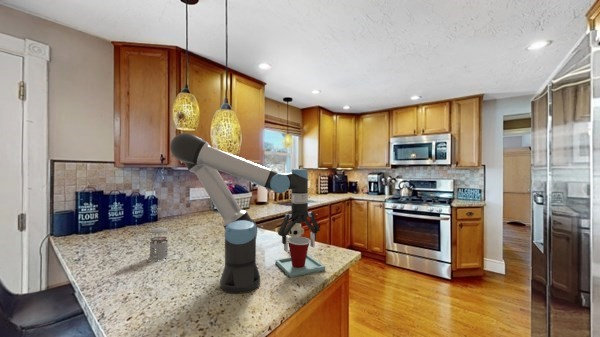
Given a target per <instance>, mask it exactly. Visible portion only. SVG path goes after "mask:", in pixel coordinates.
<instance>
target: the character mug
mask: <svg viewBox="0 0 600 337" xmlns="http://www.w3.org/2000/svg"><path fill="white" fill-rule="evenodd" d="M288 235H289V237H302V235H305V229H304V228H302V223H296V224H295V225H294V226H293V227H292V229H291V230H290V232H289V233H288Z"/></svg>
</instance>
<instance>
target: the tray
mask: <svg viewBox="0 0 600 337" xmlns="http://www.w3.org/2000/svg"><path fill="white" fill-rule="evenodd" d="M274 260H275V265H276V266H277V267H278V268H279V269H280V270H282V272H284V274H286V275H287V276H288V277H289V278H290V279H291V278H297V277H300V276H304V275H310V274H315V273H320V272H324V271H326V266H325V265H324V264H322V263H321V262H319V261H318V260H317V259H315V258H313V257H312V256H310V255H309V254H308V253H307V256H306V261H305V266H304V267H301V268H296V267H293V266H292V261H291V256H289V257H284V258H278V259H274Z"/></svg>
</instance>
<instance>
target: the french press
mask: <svg viewBox="0 0 600 337" xmlns="http://www.w3.org/2000/svg"><path fill="white" fill-rule="evenodd" d="M161 210H162V208H160V207H157V209H156V211H157V212H160V211H161ZM168 230H169V228H166V227H164V226H163V227H162V226H157V227H155V228H152V229H151V230H150V231H149V233H151V236H150V237H151V238H150V242H149V257H148V258H147V259H148V260H151V261H150V262H159V261H158V260H161V261H164V260H163V259H165V258H167V257H169V256H170V254H168V249H169V247H168V246H169V245H168V244H169V242H168V237H167V236H157V235H159V234H162V233H166V232H168ZM153 235H154V237H153ZM169 258H170V257H169ZM167 259H168V258H167ZM148 260H147V261H148ZM165 260H166V259H165Z"/></svg>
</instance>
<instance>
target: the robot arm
mask: <svg viewBox="0 0 600 337" xmlns="http://www.w3.org/2000/svg"><path fill="white" fill-rule="evenodd" d="M169 150H170V153H171V154H172V156H173V158H175V159H176V160H177V161H180V162H182V163H184V165H185V166H186V168H187V170H188V171H189V172H190V173H193V174H195V175H196V177H197V179H198V181H199V182H200V184H201V185H202V187H203V189H204V190H205V192H206V193H207V195H208V197H209V199H210V200H211V202H212V203H213V205H214V207H215V208H216V210H217V211H218V213H219V215H220V216H221V217H222V219H223V224H222V227H223V228H224V230H225V231H224V267H223V271H222V274H221V277H220V279H219V289H220V290H221V291H223V292H224V293H228V294H233V295H234V294H236V295H237V294H243V293H247V292H248V293H249V292H251V291H253V290H255V289H257V288H259V286H260V285H261V275H260V272H259V269H258V266H257V260H256V258H257V253H256V252H257V236H258V226H257V223H256V222H255V221H254V219H252V218H251V216H250V214H249V213H248V212H247V210H244V209H242V208H241V207H240V205H239V204H238V202H237V200H236V198H235V196H234V195H233V193H232V192H231V190H230V188H229V187H228V185H227V184H226V181H225V180H224V179H223V177H222V175H221V174H220V172H223V173H225V174H227V175H230V176H232V177H236V178H239V179H242V180H244V181H247V182H250V183H252V184H255V185H258V186H260V187H262V188H265V189H266V190H267V191H269V190H271V191H273V192H274V193H277V194H283V193H285V192H287V191H288V190H291V201H290V202H291V213H284V219H283V221H282V223H281V226H280V228H279V230H278V232H277V234H278V236H280V237H281V244H283V251H284V252H286V253H287V252H289V244H288V238H289V237H288V235H289V232H290V230H291V229H292V227H293V226H294V225H295V224H296V223H298V224H303V223H305V225H307V227H308V228H309V229H310V231H311V232H309V233H310V234H309V235H310V238H309V240H310V241H311V242H310V243H309V247H312V248H315V247H316V246H315V244H316V243H315V242H316V241H315V240H317V234H318V232H320V227H319V224H318V222H317V220H316V218H315V213H314V212H313V211H308V210H309V208H308V207H309V204H308V201H309V198H308V197H309V195H308V194H309V190H308V189H309V188H308V187H309V177H308V176H309V174H308V169H306V168H292V169H291V172H288V173H286V172H285V173H284V172H278V171H275V170H273V169H270V168H268V167H265V166H262V165H261V164H257V163H254V162H252V161H250V160H248V159H247V160H246V159H245V158H243V157H239V156H237V155H234V154H231V153H229V152H226V151H224V150H221V149H218V148H215V147H213V146H211V145H210V144H209V142H208V141H206V140H204V138H201V137H199V136H197V135H194V134H192V133H189V132H183V133H179V134H177V135H176V136H174V137H173V138H172V140H171V141H170V145H169ZM308 217H309V219H310V220H309V219H308ZM310 221H311V222H310Z"/></svg>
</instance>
